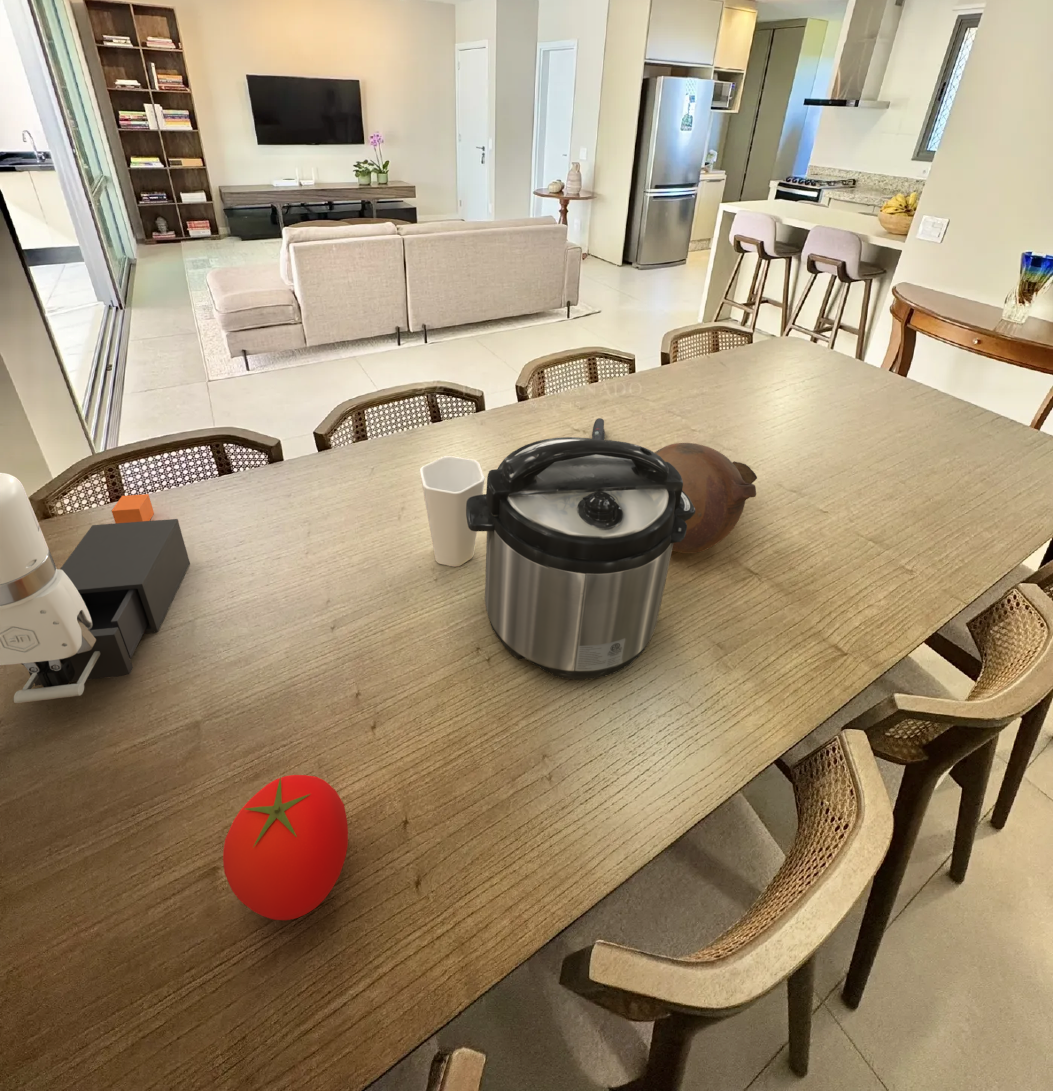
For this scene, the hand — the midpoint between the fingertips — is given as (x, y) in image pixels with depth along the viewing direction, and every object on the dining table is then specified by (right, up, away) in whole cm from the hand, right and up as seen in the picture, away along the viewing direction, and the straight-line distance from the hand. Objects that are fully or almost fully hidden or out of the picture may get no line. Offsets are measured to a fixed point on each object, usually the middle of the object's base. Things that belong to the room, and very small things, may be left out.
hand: (61, 684), depth 75 cm
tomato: (+36, -13, -14) cm, 41 cm away
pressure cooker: (+66, +2, +20) cm, 69 cm away
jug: (+92, +11, +40) cm, 101 cm away
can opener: (+76, +23, +64) cm, 102 cm away
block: (-13, +13, +35) cm, 39 cm away
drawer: (-1, 0, +7) cm, 8 cm away
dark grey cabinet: (-3, +4, +18) cm, 19 cm away
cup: (+46, +8, +31) cm, 56 cm away
